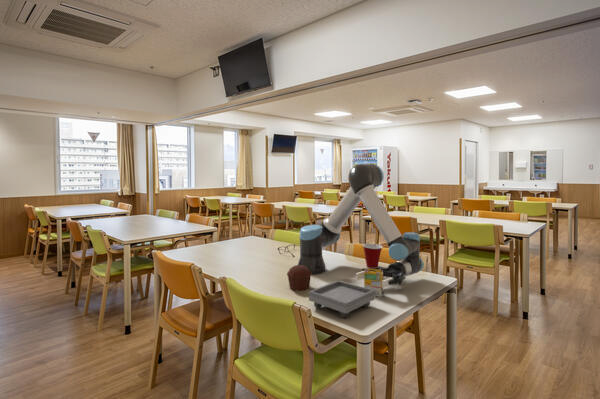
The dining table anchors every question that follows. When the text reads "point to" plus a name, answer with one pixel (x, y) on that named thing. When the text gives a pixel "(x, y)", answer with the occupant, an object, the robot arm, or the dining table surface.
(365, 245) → the plastic cup
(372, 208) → the robot arm
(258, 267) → the dining table surface
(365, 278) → the crayon box
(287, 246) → the eyeglasses
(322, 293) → the grey footed tray
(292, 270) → the muffin
